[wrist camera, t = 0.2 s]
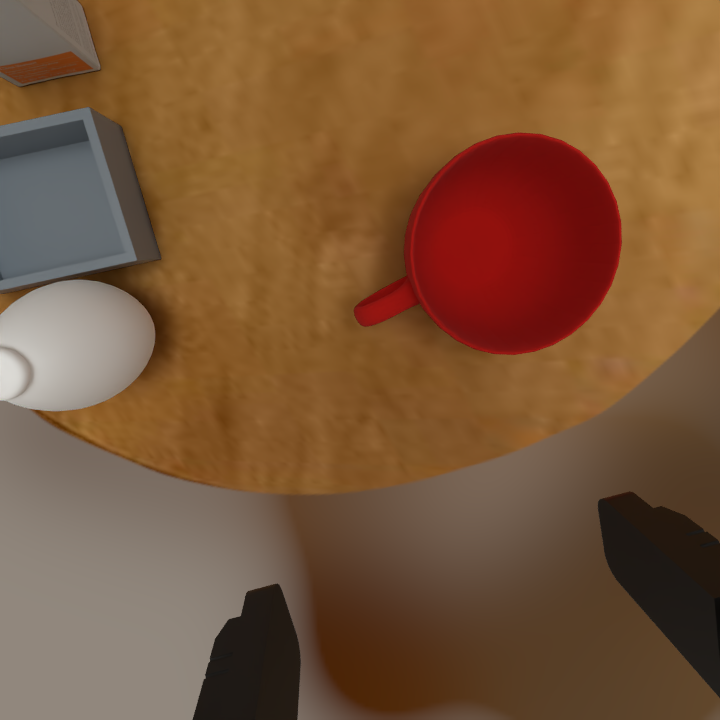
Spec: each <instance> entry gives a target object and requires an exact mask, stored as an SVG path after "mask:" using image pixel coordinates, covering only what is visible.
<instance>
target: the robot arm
mask: <svg viewBox="0 0 720 720" xmlns="http://www.w3.org/2000/svg"><path fill="white" fill-rule="evenodd" d="M598 512H599V518H600V525H601V531H602V538H603V545H604V552H605V557H606V560H607V563H608V565H609V568H610V570H611V572H612V574H613V575H614V577H615V578H616V580H617V581H618V582H619V583H620V585H621V586H622V587H623V588H624V589H625V590H626V591H627V592H628V593H629V595H630V596H631V597H632V598H633V599H634V601H635V602H636V603H637V604H638V605H639V606H640V607H641V608H642V610H644V612H645V613H646V614H647V615H648V616H649V618H650V619H651V620H652V621H653V622H654V623H655V624H656V626H657V627H658V628H659V629H660V630H661V631H662V632H663V634H664V635H665V636H666V637H667V638H668V639H669V640H670V642H671V643H672V644H673V645H674V646H675V647H676V648H677V650H678V651H679V652H680V653H681V654H682V655H683V656H684V657H685V659H686V660H687V661H688V662H689V663H690V664H691V665H692V667H693V668H694V669H695V670H696V671H697V672H698V673H699V675H700V676H701V677H702V678H703V679H704V680H705V682H706V683H707V684H708V685H709V686H710V687H711V688H712V690H713V691H714V692H715V693H716V694H717V695H718V696H719V698H720V543H719V541H718V540H717V539H716V538H715V537H713V536H712V535H711V534H709V533H708V532H704V530H703V528H701V527H700V526H699V525H697V524H696V523H694V522H693V521H692V520H690V519H689V518H688V517H686V516H685V515H683V514H680V513H677V512H675V511H672V510H670V509H667V508H665V507H662V506H660V507H656V508H652V507H651V506H650V505H648V504H647V503H646V502H644V500H642V499H641V498H640V497H638V496H637V495H636V494H635V493H633V492H626V493H622V494H618V495H615V496H611V497H607V498H603V499H600V500H599V501H598ZM300 664H301V660H300V649H299V642H298V638H297V634H296V631H295V628H294V625H293V622H292V619H291V616H290V613H289V610H288V607H287V604H286V601H285V598H284V595H283V592H282V590H281V587H280V585H279V584H273V585H270V586H266V587H262V588H258V589H254V590H251V591H248V592H247V593H246V596H245V601H244V606H243V609H242V614H241V616H240V617H236V618H232V619H229V620H228V621H227V623H226V624H225V625H224V627H223V629H222V630H221V631H220V633H219V634H218V636H217V637H216V638H215V642H214V646H213V649H212V653H211V656H210V662H209V663H208V667H207V671H206V674H205V676H206V679H204V681H203V685H202V688H201V692H200V696H199V699H198V703H197V706H196V710H195V714H194V717H193V720H297V715H298V699H299V682H300Z"/></svg>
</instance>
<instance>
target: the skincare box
mask: <svg viewBox="0 0 720 720" xmlns="http://www.w3.org/2000/svg"><path fill="white" fill-rule="evenodd" d="M100 68H101V67H100V63H99V60H98V57H97V54H96V51H95V48H94V45H93V41H92V38H91V34H90V31H89V27H88V24H87V21H86V17H85V14H84V11H83V8H82V6H81V4H80V3H79V2H78V1H77V0H0V77H2V78H4V79H6V80H7V81H9V82H11V83H13V84H15V85H17V86H19V87H21V86H25V85H28V84H32V83H37V82H42V81H46V80H51V79H55V78H60V77H65V76H70V75H76V74H81V73H86V72H91V71H97V70H100Z"/></svg>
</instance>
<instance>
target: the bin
mask: <svg viewBox="0 0 720 720" xmlns="http://www.w3.org/2000/svg"><path fill="white" fill-rule="evenodd" d="M159 259H161V256H160V252H159V249H158V246H157V242H156V239H155V236H154V232H153V229H152V226H151V223H150V219H149V216H148V213H147V209H146V206H145V203H144V199H143V196H142V193H141V189H140V186H139V183H138V179H137V176H136V173H135V170H134V166H133V163H132V160H131V156H130V153H129V150H128V146H127V143H126V140H125V136H124V133H123V130H122V127H121V126H120V125H118V124H116V123H115V122H113V121H111V120H110V119H108V118H106V117H105V116H103V115H101V114H100V113H98V112H96V111H95V110H93V109H92V108H90V107H87V108H82V109H78V110H73V111H68V112H63V113H59V114H54V115H49V116H45V117H40V118H35V119H31V120H26V121H21V122H17V123H12V124H7V125H2V126H0V294H4V293H9V292H14V291H18V290H23V289H27V288H32V287H36V286H41V285H46V284H50V283H55V282H59V281H64V280H68V279H73V278H77V277H82V276H86V275H91V274H96V273H100V272H105V271H109V270H114V269H118V268H123V267H127V266H132V265H136V264H141V263H146V262H150V261H155V260H159Z"/></svg>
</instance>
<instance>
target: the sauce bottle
mask: <svg viewBox="0 0 720 720" xmlns="http://www.w3.org/2000/svg"><path fill="white" fill-rule="evenodd" d="M154 344H155V328H154V323H153V321H152V318H151V316H150V314H149V313H148V311H147V310H146V309H145V307H144V306H143V305H142V304H141V303H140V302H139V301H138V300H137V299H135V298H134V297H133V296H131V295H130V294H128V293H127V292H125V291H123V290H121V289H119V288H117V287H115V286H112V285H109V284H106V283H102V282H98V281H91V280H68V281H60V282H55V283H52V284H49V285H46V286H43V287H41V288H38V289H35V290H33V291H31V292H29V293H28V294H26V295H25V296H23V297H21V298H20V299H18V300H17V301H15V302H14V303H13V304H11V305H10V306H9V307H8V308H7V309H6V310H5V311H4V312H3V313H2V314H1V315H0V400H1V401H4V400H5V401H7V402H10V403H12V404H14V405H18V406H21V407H25V408H29V409H36V410H45V411H64V410H74V409H81V408H86V407H89V406H92V405H95V404H98V403H101V402H103V401H106V400H108V399H110V398H112V397H113V396H115V395H117V394H118V393H120V392H121V391H123V390H124V389H126V388H127V387H128V386H129V385H130V384H131V383H132V382H133V381H134V380H135V379H136V378H137V377H138V376H139V375H140V374H141V372H142V371H143V370H144V368H145V367H146V365H147V363H148V361H149V359H150V357H151V355H152V352H153V348H154Z"/></svg>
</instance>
